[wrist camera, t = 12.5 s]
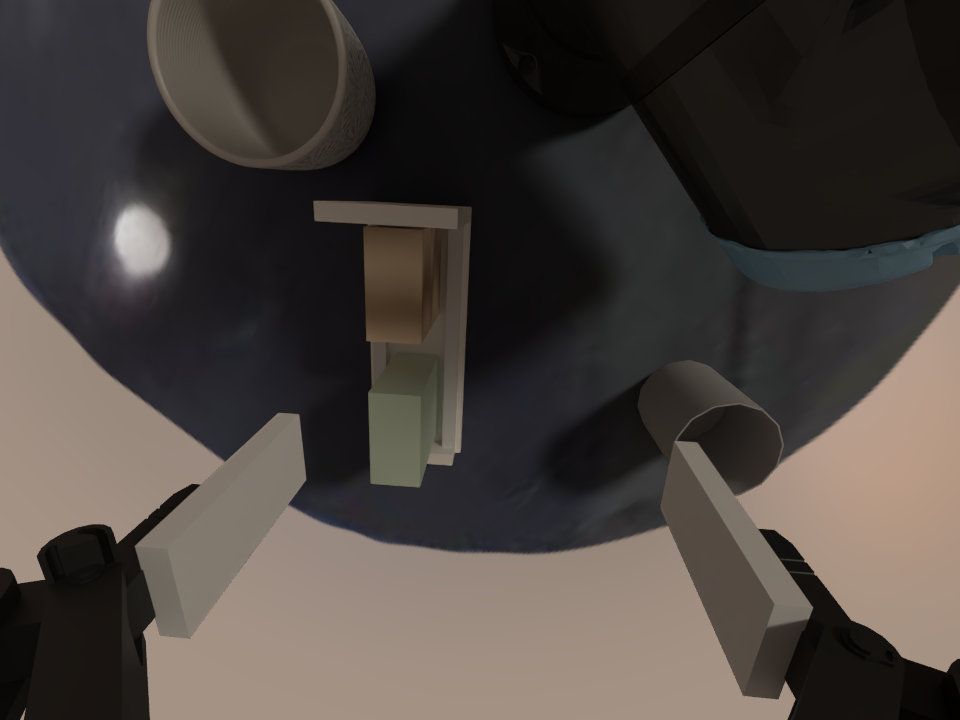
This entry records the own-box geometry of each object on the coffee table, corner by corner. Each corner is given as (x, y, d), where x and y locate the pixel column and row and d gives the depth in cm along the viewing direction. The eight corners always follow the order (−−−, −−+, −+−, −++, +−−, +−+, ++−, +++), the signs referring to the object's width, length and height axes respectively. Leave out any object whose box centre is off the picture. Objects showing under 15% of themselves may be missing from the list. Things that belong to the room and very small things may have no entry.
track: (370, 201, 41) (313, 200, 29) (471, 207, 41) (458, 208, 28) (375, 441, 49) (332, 522, 37) (460, 448, 49) (446, 531, 36)
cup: (662, 452, 48) (702, 514, 38) (622, 390, 46) (652, 440, 36) (740, 410, 46) (801, 464, 36) (701, 344, 44) (755, 383, 34)
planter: (276, 193, 41) (200, 190, 31) (216, 36, 38) (107, -27, 27) (407, 153, 40) (374, 136, 29) (358, -15, 36) (300, -102, 26)
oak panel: (396, 220, 41) (363, 226, 31) (441, 223, 40) (422, 230, 31) (396, 310, 43) (366, 341, 34) (439, 313, 43) (421, 344, 34)
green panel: (397, 352, 44) (368, 392, 35) (438, 354, 44) (421, 396, 35) (397, 426, 47) (370, 483, 38) (436, 429, 47) (419, 487, 37)
